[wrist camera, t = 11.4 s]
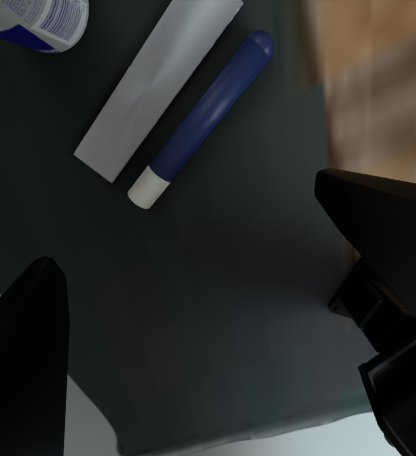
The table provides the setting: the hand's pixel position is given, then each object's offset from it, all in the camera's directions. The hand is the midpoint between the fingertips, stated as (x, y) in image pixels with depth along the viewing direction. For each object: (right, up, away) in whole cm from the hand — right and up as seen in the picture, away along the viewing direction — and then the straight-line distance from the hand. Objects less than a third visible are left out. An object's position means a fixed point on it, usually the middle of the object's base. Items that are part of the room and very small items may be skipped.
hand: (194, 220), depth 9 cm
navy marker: (-1, +7, +10) cm, 12 cm away
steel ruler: (-3, +9, +9) cm, 13 cm away
